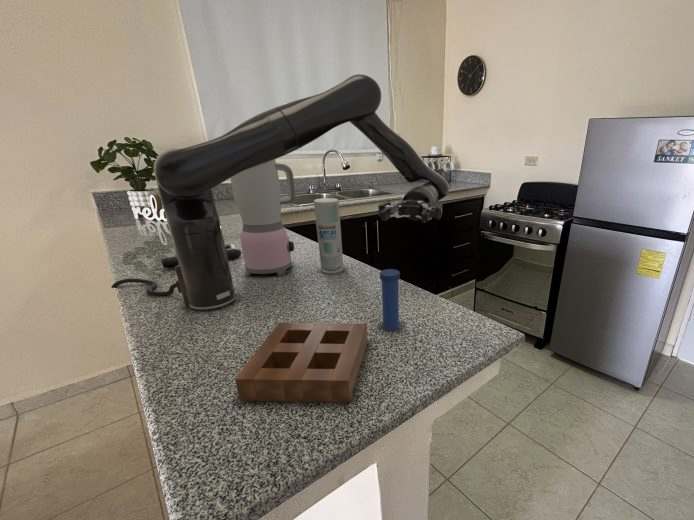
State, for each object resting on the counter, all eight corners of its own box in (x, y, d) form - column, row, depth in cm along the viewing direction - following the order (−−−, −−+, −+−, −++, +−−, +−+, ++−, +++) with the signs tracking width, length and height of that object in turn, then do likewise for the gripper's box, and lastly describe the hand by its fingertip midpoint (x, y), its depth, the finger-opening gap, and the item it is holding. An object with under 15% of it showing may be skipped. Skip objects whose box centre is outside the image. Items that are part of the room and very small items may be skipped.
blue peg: (380, 331, 70) (378, 276, 65) (382, 321, 73) (381, 268, 69) (399, 331, 70) (398, 276, 65) (400, 322, 73) (400, 269, 69)
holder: (239, 401, 51) (234, 378, 50) (282, 340, 66) (279, 322, 65) (350, 402, 51) (348, 380, 50) (367, 342, 66) (366, 323, 65)
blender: (239, 278, 93) (213, 152, 81) (253, 263, 104) (232, 150, 92) (300, 276, 96) (284, 153, 84) (307, 261, 107) (294, 150, 95)
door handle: (161, 248, 108) (160, 260, 95) (234, 239, 119) (241, 249, 106) (164, 259, 109) (163, 272, 96) (235, 249, 120) (243, 259, 107)
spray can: (345, 265, 104) (339, 198, 97) (342, 273, 99) (337, 202, 91) (322, 265, 104) (315, 198, 96) (319, 273, 98) (311, 202, 90)
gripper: (391, 186, 88) (369, 198, 73) (447, 188, 85) (436, 200, 71) (392, 215, 91) (372, 232, 76) (446, 218, 88) (436, 236, 74)
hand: (403, 217), depth 74 cm, fingers open, 8 cm apart
